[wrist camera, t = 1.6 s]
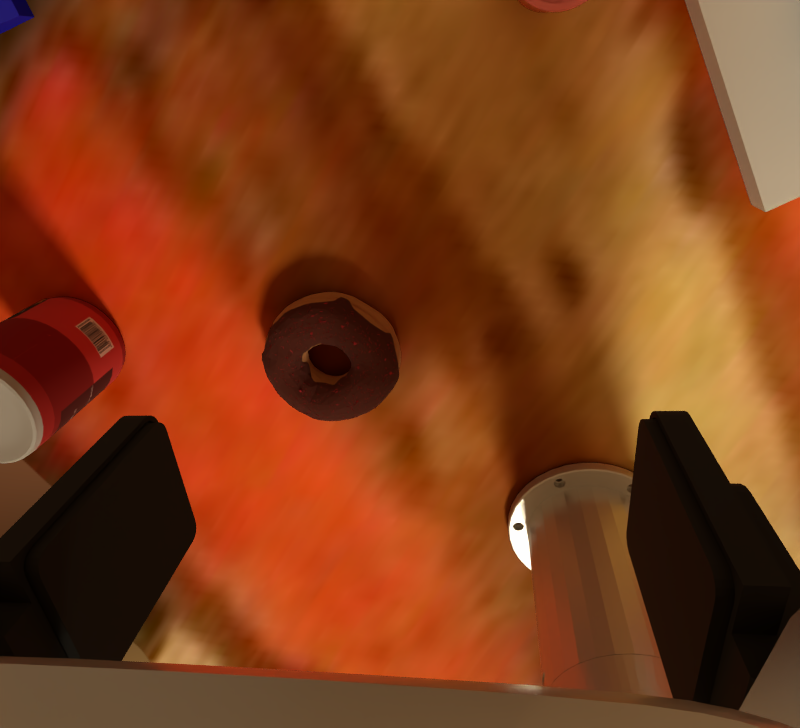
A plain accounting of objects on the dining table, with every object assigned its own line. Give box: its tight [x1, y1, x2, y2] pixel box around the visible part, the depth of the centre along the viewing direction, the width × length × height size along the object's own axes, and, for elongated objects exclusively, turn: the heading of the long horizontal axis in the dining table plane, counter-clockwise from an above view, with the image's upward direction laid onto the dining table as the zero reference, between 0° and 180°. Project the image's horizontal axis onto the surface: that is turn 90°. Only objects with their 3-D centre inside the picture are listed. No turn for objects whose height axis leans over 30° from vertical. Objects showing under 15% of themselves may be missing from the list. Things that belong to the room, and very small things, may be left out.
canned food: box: [0, 297, 125, 463], centre depth 41 cm, size 8×8×11 cm
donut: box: [262, 292, 401, 421], centre depth 42 cm, size 10×10×4 cm
